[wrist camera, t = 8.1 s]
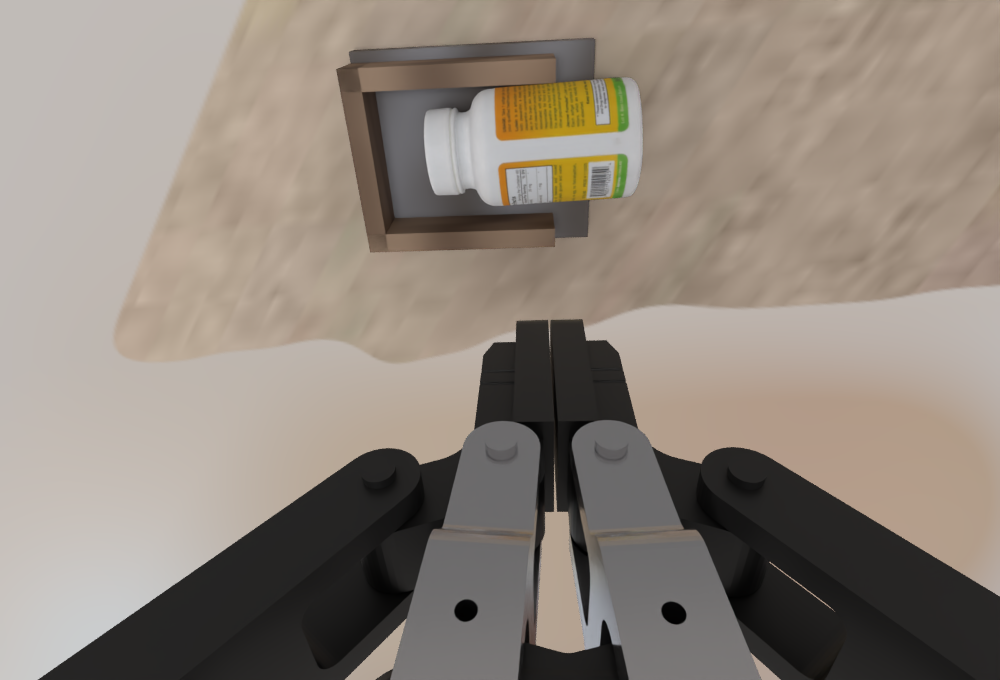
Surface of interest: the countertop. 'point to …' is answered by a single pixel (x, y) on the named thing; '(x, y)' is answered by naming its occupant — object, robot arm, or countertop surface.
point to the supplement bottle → (539, 143)
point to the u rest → (401, 152)
